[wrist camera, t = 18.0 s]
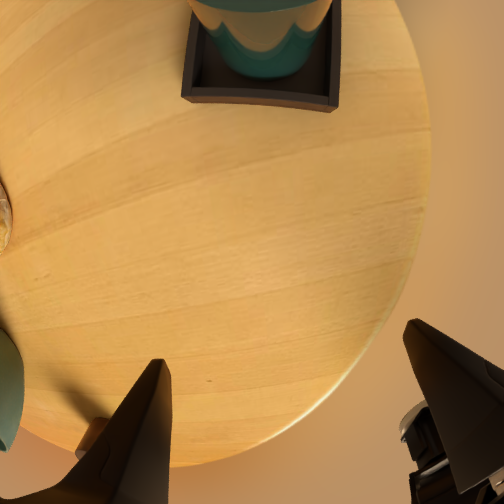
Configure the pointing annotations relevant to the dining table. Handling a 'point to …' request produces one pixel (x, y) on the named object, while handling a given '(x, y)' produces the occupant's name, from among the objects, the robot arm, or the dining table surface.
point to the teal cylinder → (262, 34)
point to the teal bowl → (10, 391)
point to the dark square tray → (266, 93)
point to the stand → (90, 436)
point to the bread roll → (4, 220)
